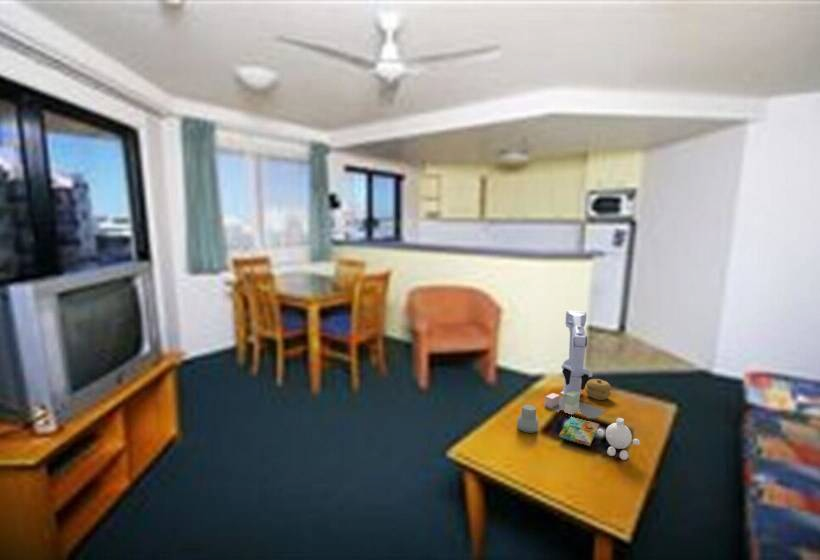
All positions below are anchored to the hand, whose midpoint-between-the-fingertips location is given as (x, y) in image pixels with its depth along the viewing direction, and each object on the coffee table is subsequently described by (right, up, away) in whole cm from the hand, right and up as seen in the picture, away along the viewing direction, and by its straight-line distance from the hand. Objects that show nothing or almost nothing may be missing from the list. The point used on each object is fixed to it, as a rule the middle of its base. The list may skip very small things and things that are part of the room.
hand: (575, 386), depth 207 cm
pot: (+16, -9, +13) cm, 23 cm away
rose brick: (-11, -9, +1) cm, 14 cm away
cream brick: (-4, -10, -6) cm, 13 cm away
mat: (-1, -10, -2) cm, 11 cm away
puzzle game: (-9, -14, -29) cm, 33 cm away
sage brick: (-4, -6, -7) cm, 10 cm away
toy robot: (0, -16, -41) cm, 44 cm away
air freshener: (-30, -13, -24) cm, 40 cm away
